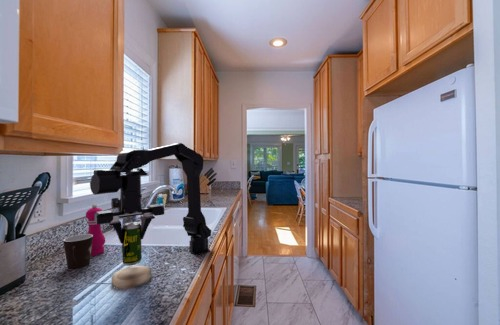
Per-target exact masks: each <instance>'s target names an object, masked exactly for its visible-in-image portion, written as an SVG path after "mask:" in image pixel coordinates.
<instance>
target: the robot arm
mask: <svg viewBox="0 0 500 325" xmlns="http://www.w3.org/2000/svg"><path fill="white" fill-rule="evenodd" d="M172 156H174V157H175V158H176V160H177V161H179V162H180V164H181V167H182V171H183V172H184V174H185V175H186V188H187V190H186V191H187V205H188V206H187V209H188V211H187V214H186V215H185V216H183V218H182V221H183V226H182V228H183V229H184V230H185V232H186V234H187V236H188V237H190V240H189V249H188V251H189V252H190V253H192V254H193V255H195V256H198V255H201V254H205V253H208V252H211V250H210V249H209V237H211V236H212V231H213V230H212V229H211V228H209V227H208V226H207V222H206V221H207V220H206V218H205V216H204V214H203V212H202V204H201V200H202V199H201V182H200V180H201V179H200V178H201V177H200V175H201V173H202V171H203V168H204V156H202V155H201V154H200V153H198V152H197V151H195V150H194V149H191V148H189V147H188V146H186V145H185V144H184V143H182V142H178V143H177V142H176V143H171V144H169V145H164V146H159V147H155V148H154V147H153V148H151V149H133V150H132V149H131V150H122V151H119V153H118V154H117V156H116V160H115V162H114V163H113V165H111V167H110V168H109V170H103V169H94V170H93V175H92V176H91V179H90V181H89V188H90V191H91V193H92V194H93V195H96V196H97V195H103V194H104V195H105V194H115V193H118V192H119V191H120V196H119V197H113V198H111V202H110V203H111V204H110V205H111V209H112V210H116V209H117V210H118V211H115V212H113V211H112V210H111V209H107V210H102V211H98V212H96V213H95V222H96V224H101V225H103V224H108V225H109V226H112V227H113V229H114V230H115V233H116V235H117V238H118V240H119V242H120V244H121V245H122V243H123V235H122V227H123V225H122V222H121V220H120V219H123V218H129V217H135V216H140V225H141V240H143V239H144V237H145V235H146V232H147V229H148V227H149V225H150V223H151V222H152V220H155V218H156V217H155V216H163V215H165V206H163V205H161V204H158V203H156V204H150V205H149V204H148V205H147V207H146V208H143V206H142V197H143V196H142V195H143V194H142V179H141V178H142V177H143V176H147V175H148V172H147V171H145V170H144V169H143V168H142V167H144V166H146V165H148V164H150V162H153V161H156V160H160V159H163V158H168V157H172ZM122 173H123V174H122Z"/></svg>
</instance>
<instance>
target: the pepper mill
mask: <svg viewBox="0 0 500 325" xmlns="http://www.w3.org/2000/svg"><path fill="white" fill-rule="evenodd" d="M98 211H103V209H102V208H100V207H98V204H96V203H94V204H92V205H91V208H89V209H88V210H87V211H86V212H85V218H86V219H87V222H86V224H87V225H88V232H87V234H92V235H93V240H92V248H91V256H90V257H92V256H97V255H101V254H103V253H104V252H105V246H104V245H105V243H106V237H105V235H104V233H103V232H102V228H101V225H102V224H96V222H95V213H96V212H98Z"/></svg>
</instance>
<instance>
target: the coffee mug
mask: <svg viewBox="0 0 500 325" xmlns="http://www.w3.org/2000/svg"><path fill="white" fill-rule="evenodd" d="M92 240H93V235H92V234H88V233H84V234H76V235H72V236H68V237H65V238H63V247H64V253H65V260H66V266H67V270H70V271H71V270H72V271H73V270H74V271H75V270H79V269H83V268H84V269H85V268H86V267H88V266H89V265H90V264H91V257H92V256H91V248H92Z"/></svg>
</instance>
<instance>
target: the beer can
mask: <svg viewBox="0 0 500 325" xmlns="http://www.w3.org/2000/svg"><path fill="white" fill-rule="evenodd" d="M122 235H123V243H122V244H121V246H122V247H121V250H122V252H121V253H122V254H121V255H122V265H124V266H129V267H132V266H136V265H139V263H141V261H142V259H143V256H142V254H143V252H142V250H143V249H142V248H143V247H142V239H141V221H131V222H129V221H128V222H124V223H123V224H122Z"/></svg>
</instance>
